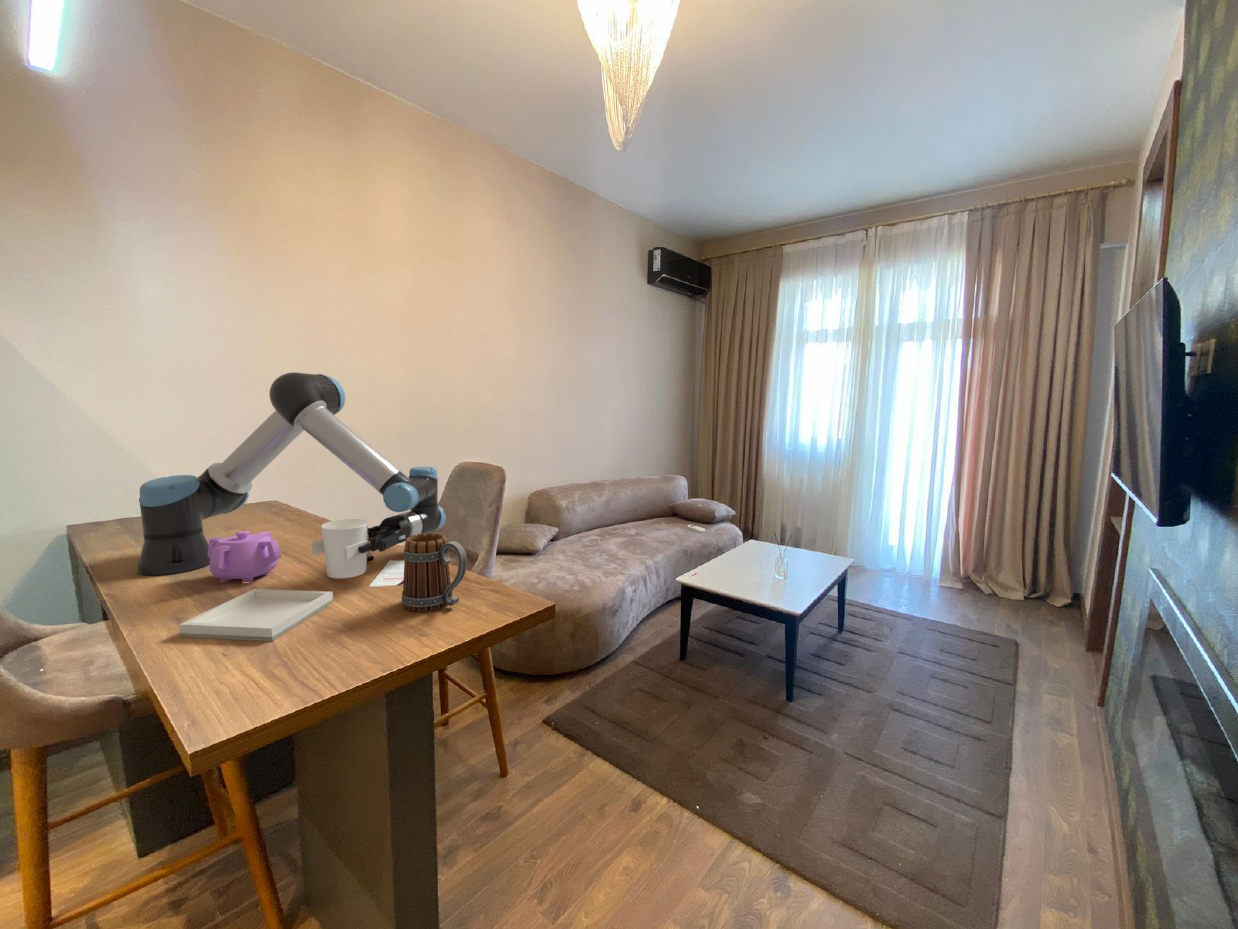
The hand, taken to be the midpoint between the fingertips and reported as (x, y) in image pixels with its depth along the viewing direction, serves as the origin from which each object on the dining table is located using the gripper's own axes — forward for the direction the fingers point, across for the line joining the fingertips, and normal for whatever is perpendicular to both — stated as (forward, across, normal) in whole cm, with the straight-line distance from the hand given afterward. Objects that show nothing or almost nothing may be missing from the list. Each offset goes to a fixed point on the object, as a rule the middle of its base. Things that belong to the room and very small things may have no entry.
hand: (329, 550), depth 115 cm
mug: (-3, -27, -10) cm, 29 cm away
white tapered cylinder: (-5, 0, -7) cm, 8 cm away
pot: (0, +28, -10) cm, 30 cm away
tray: (+15, +1, -10) cm, 18 cm away
